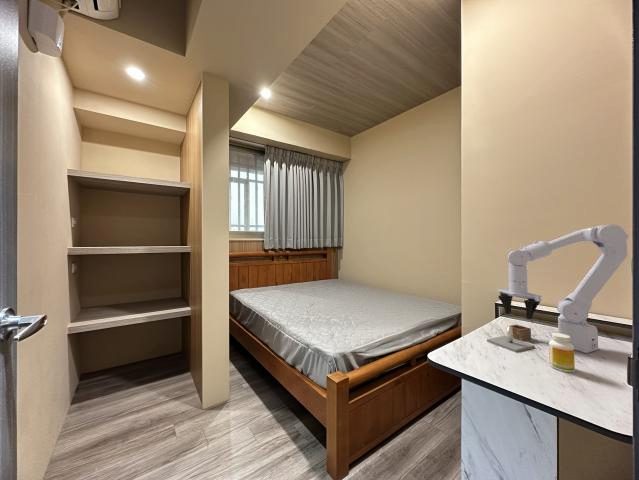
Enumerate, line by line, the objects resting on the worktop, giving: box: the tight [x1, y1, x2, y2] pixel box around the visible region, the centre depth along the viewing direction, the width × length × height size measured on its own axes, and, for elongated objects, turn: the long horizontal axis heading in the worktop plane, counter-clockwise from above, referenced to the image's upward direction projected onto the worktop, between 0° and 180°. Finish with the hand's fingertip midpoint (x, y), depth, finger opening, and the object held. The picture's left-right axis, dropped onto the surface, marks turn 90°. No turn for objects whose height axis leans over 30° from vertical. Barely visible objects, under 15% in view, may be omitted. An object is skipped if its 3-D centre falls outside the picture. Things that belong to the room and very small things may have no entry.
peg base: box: [486, 325, 536, 353], centre depth 92 cm, size 10×10×7 cm
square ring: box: [506, 324, 532, 342], centre depth 98 cm, size 5×5×4 cm
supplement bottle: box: [548, 332, 576, 373], centre depth 74 cm, size 5×5×10 cm
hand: (518, 315), depth 98 cm, fingers open, 7 cm apart
